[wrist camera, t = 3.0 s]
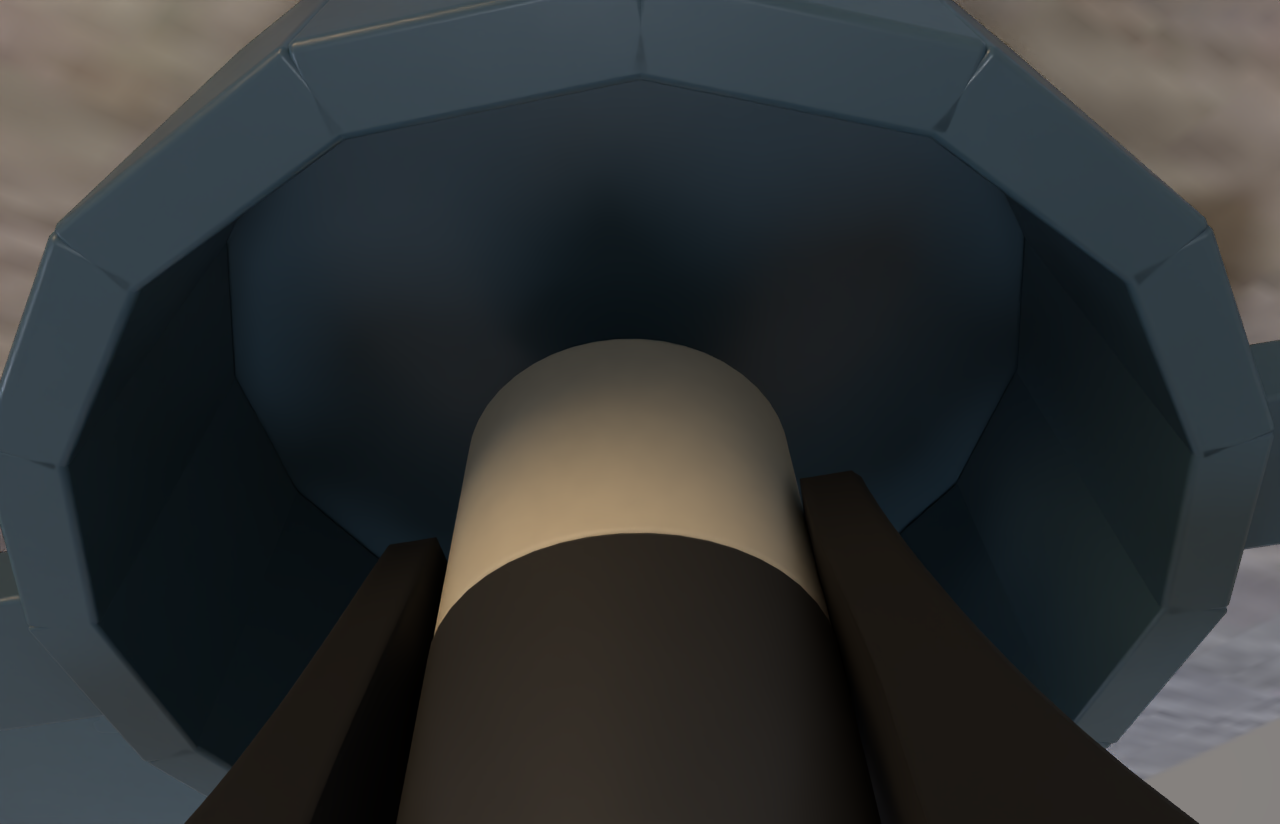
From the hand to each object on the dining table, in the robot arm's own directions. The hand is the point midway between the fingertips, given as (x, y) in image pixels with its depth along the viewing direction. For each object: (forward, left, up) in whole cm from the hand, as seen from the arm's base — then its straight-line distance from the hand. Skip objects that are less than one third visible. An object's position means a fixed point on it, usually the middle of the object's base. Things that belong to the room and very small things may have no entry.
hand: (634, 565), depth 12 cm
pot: (0, 0, -5) cm, 5 cm away
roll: (0, 0, -2) cm, 2 cm away
